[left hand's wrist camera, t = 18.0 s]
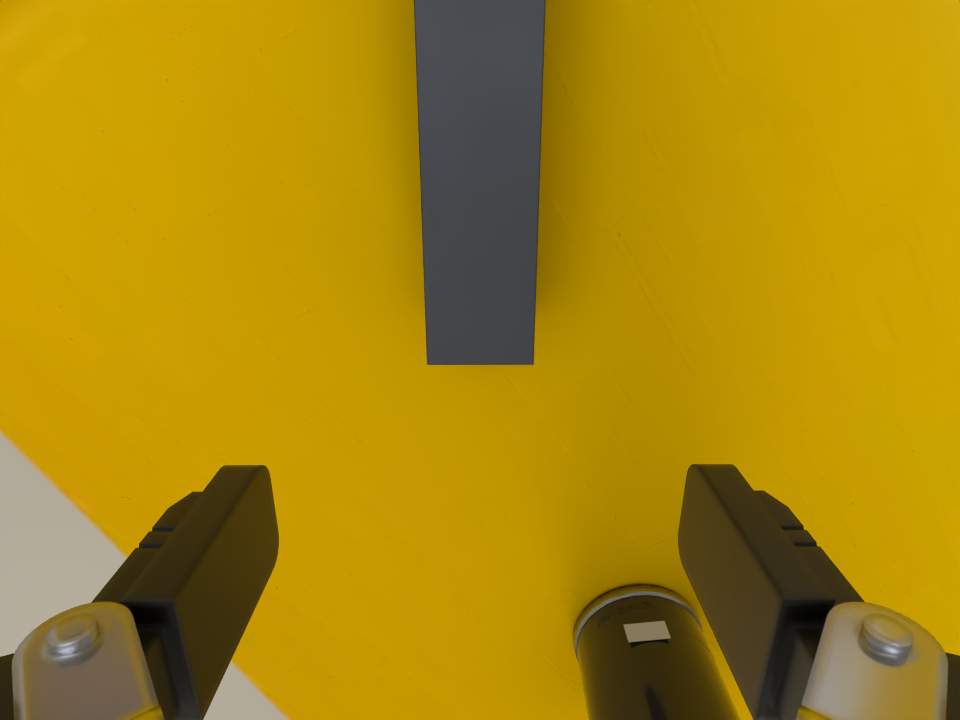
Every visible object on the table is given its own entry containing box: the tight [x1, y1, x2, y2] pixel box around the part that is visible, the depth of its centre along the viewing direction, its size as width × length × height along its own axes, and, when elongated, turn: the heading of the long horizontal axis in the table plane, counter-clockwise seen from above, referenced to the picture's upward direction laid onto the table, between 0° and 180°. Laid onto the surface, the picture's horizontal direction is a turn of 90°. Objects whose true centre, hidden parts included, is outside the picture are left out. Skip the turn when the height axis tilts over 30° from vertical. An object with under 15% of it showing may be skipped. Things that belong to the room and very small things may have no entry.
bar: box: [414, 0, 545, 365], centre depth 28 cm, size 27×5×8 cm, turn 0°
